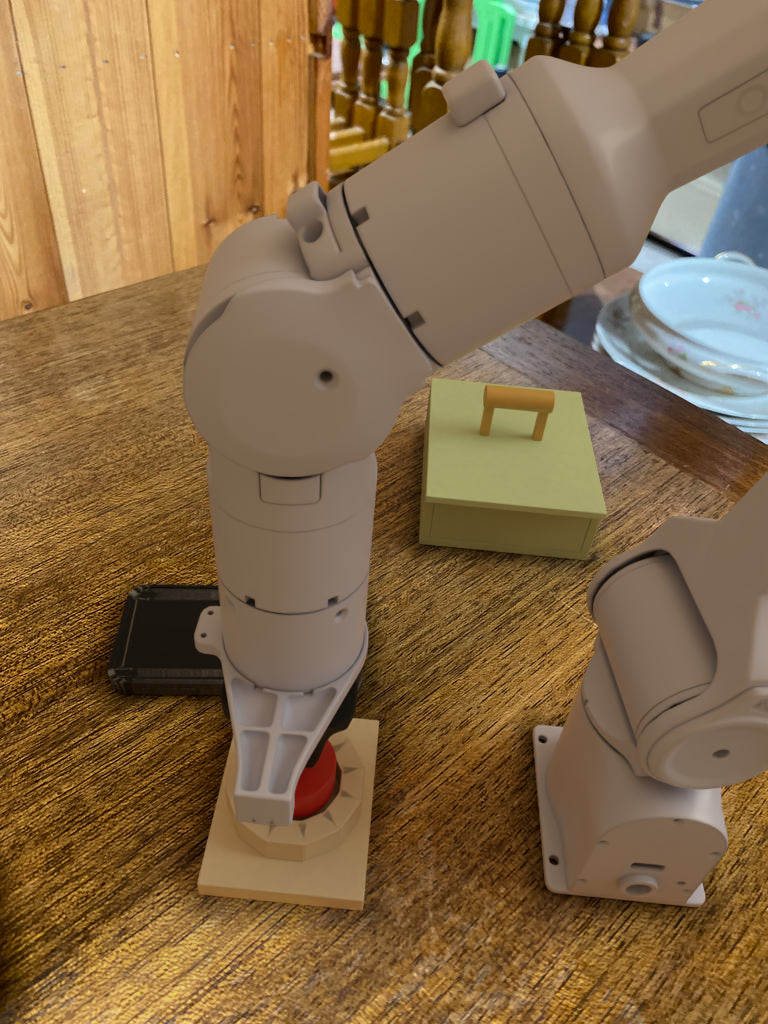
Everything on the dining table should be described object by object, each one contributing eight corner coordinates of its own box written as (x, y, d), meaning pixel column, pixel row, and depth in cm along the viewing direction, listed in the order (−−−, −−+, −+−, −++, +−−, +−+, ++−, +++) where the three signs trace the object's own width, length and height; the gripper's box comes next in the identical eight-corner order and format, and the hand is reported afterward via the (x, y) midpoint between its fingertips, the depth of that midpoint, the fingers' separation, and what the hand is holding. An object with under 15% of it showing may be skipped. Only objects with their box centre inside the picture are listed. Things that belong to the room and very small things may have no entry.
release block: (362, 911, 38) (365, 885, 36) (198, 894, 38) (192, 867, 36) (377, 731, 45) (381, 701, 43) (241, 717, 45) (238, 687, 43)
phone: (130, 583, 51) (360, 587, 52) (133, 595, 51) (360, 599, 53) (102, 684, 45) (363, 686, 46) (106, 696, 46) (362, 698, 47)
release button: (330, 822, 38) (331, 802, 37) (249, 814, 38) (247, 794, 37) (339, 750, 41) (340, 729, 40) (264, 742, 41) (263, 721, 40)
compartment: (587, 560, 57) (603, 513, 54) (418, 544, 57) (425, 495, 54) (566, 443, 68) (578, 398, 65) (424, 429, 68) (430, 384, 65)
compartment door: (605, 520, 53) (624, 466, 50) (425, 502, 53) (432, 447, 50) (579, 398, 65) (593, 347, 62) (430, 383, 65) (437, 332, 62)
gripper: (229, 432, 34) (244, 630, 43) (125, 712, 24) (173, 898, 33) (388, 448, 34) (369, 642, 43) (356, 735, 24) (341, 915, 33)
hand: (295, 753), depth 38 cm, fingers closed
